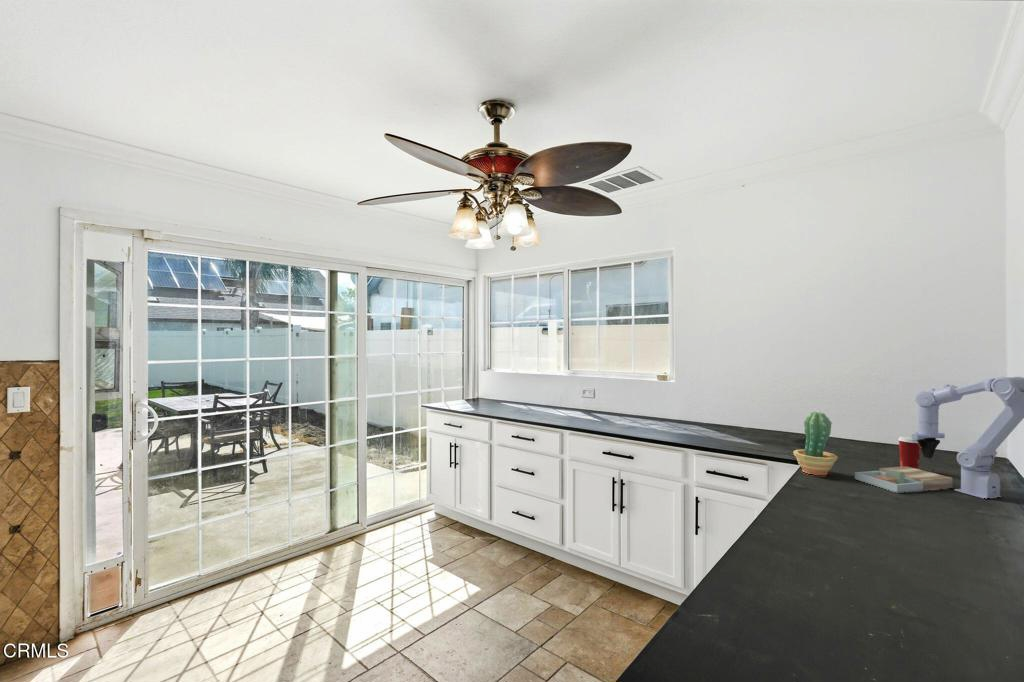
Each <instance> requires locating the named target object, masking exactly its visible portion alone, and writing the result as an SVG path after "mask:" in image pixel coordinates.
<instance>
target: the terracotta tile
mask: <svg viewBox="0 0 1024 682" xmlns="http://www.w3.org/2000/svg"><path fill="white" fill-rule="evenodd" d="M873 477H874V478H878V479H881V480H885V481H888V482H891V483H895V484H897V479H895V478H892V477H888V476H885V475H879V476H873Z"/></svg>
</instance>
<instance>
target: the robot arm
mask: <svg viewBox="0 0 1024 682" xmlns="http://www.w3.org/2000/svg"><path fill="white" fill-rule="evenodd" d="M981 392H989V393H994V394H995V395H996V396H997V397H998V398H999V399H1000V400H1001V401H1002V403H1003V404H1004V408H1003V409H1002V411H1001V412H1000V413H999V414H998V415H997V417H996V418H995V419H994V420H993V422H992V423H991V424H990V425H989V426H987V429H985V431H984V432H983V433H982V434H981V436H980V437H979V438H978V439H977V440H976V441H975V442H974V443H972V444H970V445H969V446H967V447H966V448H965V449H964V450H961V451H959V452H957V455H956V461H957V463H958V464H959V466H960V488H954V491H955V492H959V493H962V494H966V495H970V496H974V497H977V498H981V499H984V498H985V499H984V500H986V499H987V498H990V499H998V498H997V497H1001V498H1002V495H1001V478H1000V476H999V475H998V474H997V473H995V472H992V471H990V467H991V466H992V465H994V462H995V458H996V456H997V455H998V452H997V450H998V449H999V447H1000V446H1001V444H1002V443H1003V442H1004V441H1005V440H1006V439H1007V438H1008V437H1009V435H1010V434H1011V433H1012V432H1013V431H1014V430H1015V429H1016V428H1017V427H1018V425H1019V424H1020V423H1021V422H1022V421H1023V420H1024V377H1023V376H1010V377H1007V376H1006V377H1005V376H1001V377H996V378H987V379H983V380H979V381H975V382H973V383H969V384H965V385H962V386H956V385H953V384H952V385H950V384H944V385H943V387H939V388H931V389H930V390H929V391H926V390H924V391H923V390H922V391H920V392H918V393H917V394H916V395H915V398H914V399H915V402H916V404H917V405H918V431H915V433H912V434H911V437H912V439H914V440H917V442H918V443H919V445H920V450H921V452H922V455H923V458H927V459H932V458H933V456H934V454H935V451H936V449H937V448H938V447H939V444H940V443H941V440H940V439H945V436H946V435H945V434H946V433H944V432H939V410H940V406H941V405H943V404H948V403H952V402H956V401H960V400H962V398H963V396H966V395H972V394H977V393H978V394H979V393H981ZM987 500H988V499H987Z"/></svg>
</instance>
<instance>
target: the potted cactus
mask: <svg viewBox="0 0 1024 682" xmlns="http://www.w3.org/2000/svg"><path fill="white" fill-rule="evenodd" d="M803 424H804V425H803V426H804V433H805V437H806V438H805V447H804V449H795V450H793V452H792V453H793V456H795V457H796V461H797V463H798V465H799V466H800V467H801V469H802V470H801V472H802V471H803V472H805V473H808V474H814V475H827V474H828V473H829V472H830V470H831V469H832V468H833V466H834V465H835V462H836V461H837V460H838V458H839V456H837V455H836V454H834V453H831V452H828V451H825V447H826V444H827V440H829V437H830V435H831V433H832V432H831V431H832V424H833V422H832V421H831V420H830V418H829V417H828V416H827V415H826V414H825V413H824V412H823V413H822V412H816V411H812V412H810V413H809V414H808V415H807V416H806V418H805V420H804V421H803ZM803 472H802V473H803ZM805 473H804V474H805ZM808 474H807V475H808ZM828 475H829V474H828Z"/></svg>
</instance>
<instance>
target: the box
mask: <svg viewBox="0 0 1024 682" xmlns="http://www.w3.org/2000/svg"><path fill="white" fill-rule="evenodd" d="M879 475H885V476H886V472H882V471H879V470H872V471H871V470H870V471H856V472H854V480H855V479H856V480H859V481H861V482H860V483H863V482H865V483H864V484H866V483H868V484H867V485H869V484H871V485H870V486H872V485H874V486H873V487H875V486H877V487H876V488H879V487H880V489H882V488H883V490H885V489H886V491H888V490H889V491H888V492H892V493H895V492H896V493H895V494H903V493H904V492H905V493H917V492H924V491H923V483H922V482H918V481H915V480H911V479H907V478H904V484H895V483H891V482H888V481H885V480H881V479H878V478H874V477H873V476H879ZM856 480H855V481H856ZM859 481H858V482H859Z"/></svg>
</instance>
